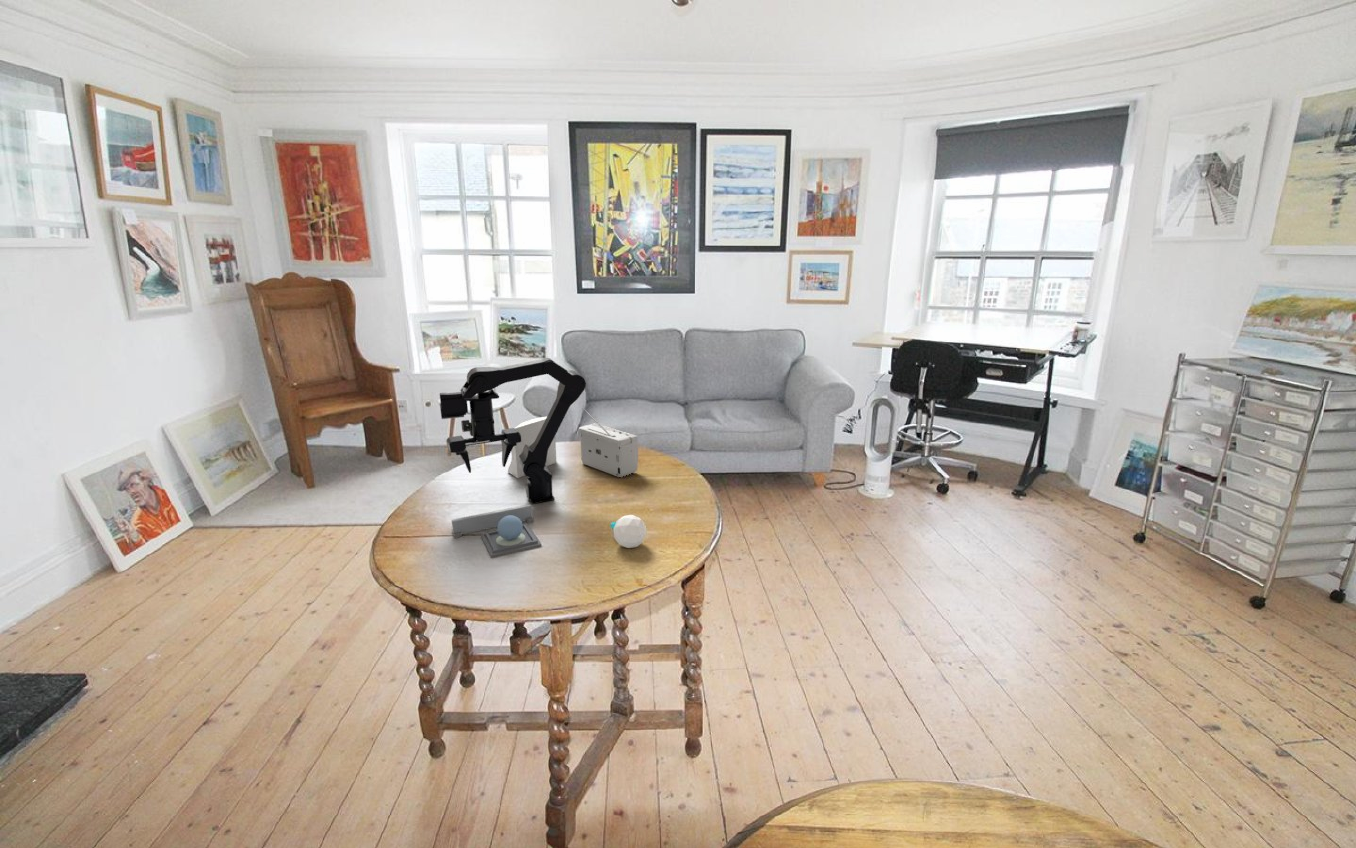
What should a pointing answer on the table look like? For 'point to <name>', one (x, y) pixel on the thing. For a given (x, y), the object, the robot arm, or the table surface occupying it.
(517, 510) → the long gray bar
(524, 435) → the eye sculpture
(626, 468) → the stereo radio cassette player
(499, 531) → the ball
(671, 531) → the table surface
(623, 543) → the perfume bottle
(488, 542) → the gray square tray
